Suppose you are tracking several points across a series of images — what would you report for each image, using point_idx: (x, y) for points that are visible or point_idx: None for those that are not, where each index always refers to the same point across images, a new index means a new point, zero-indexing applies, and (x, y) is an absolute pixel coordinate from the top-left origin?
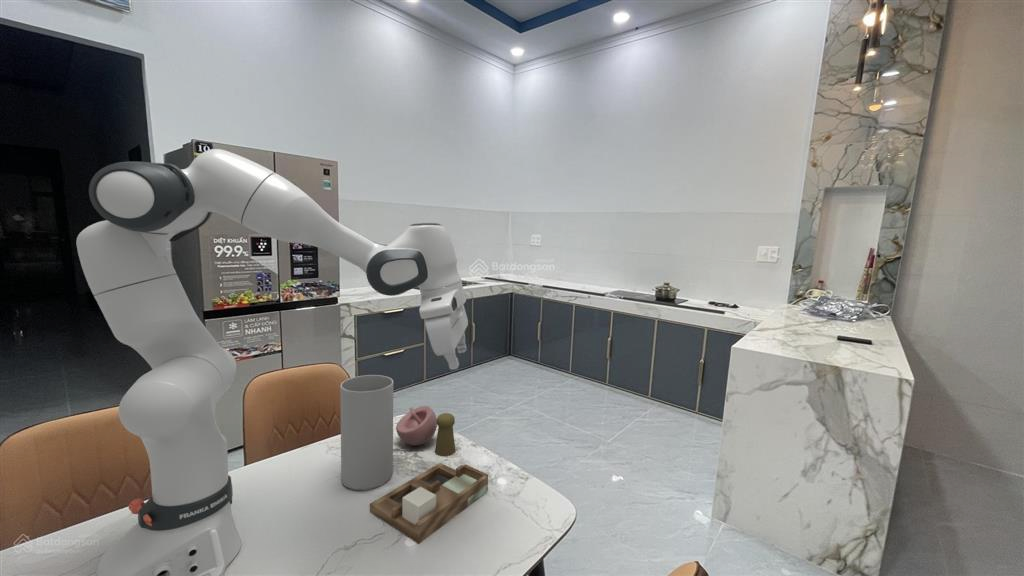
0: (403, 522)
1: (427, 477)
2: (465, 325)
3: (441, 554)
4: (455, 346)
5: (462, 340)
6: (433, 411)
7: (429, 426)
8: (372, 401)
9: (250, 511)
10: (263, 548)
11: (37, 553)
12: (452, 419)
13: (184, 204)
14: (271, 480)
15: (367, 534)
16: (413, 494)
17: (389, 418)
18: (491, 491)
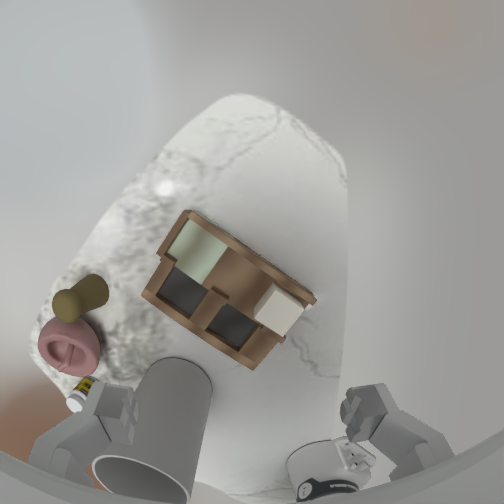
0: None
1: (176, 308)
2: (23, 490)
3: (328, 261)
4: (484, 452)
5: (86, 436)
6: (45, 330)
7: (77, 330)
8: (182, 466)
9: (257, 459)
10: (310, 430)
11: None
12: (67, 295)
13: None
14: (204, 462)
15: (294, 354)
16: (274, 323)
17: (158, 417)
18: (193, 203)
